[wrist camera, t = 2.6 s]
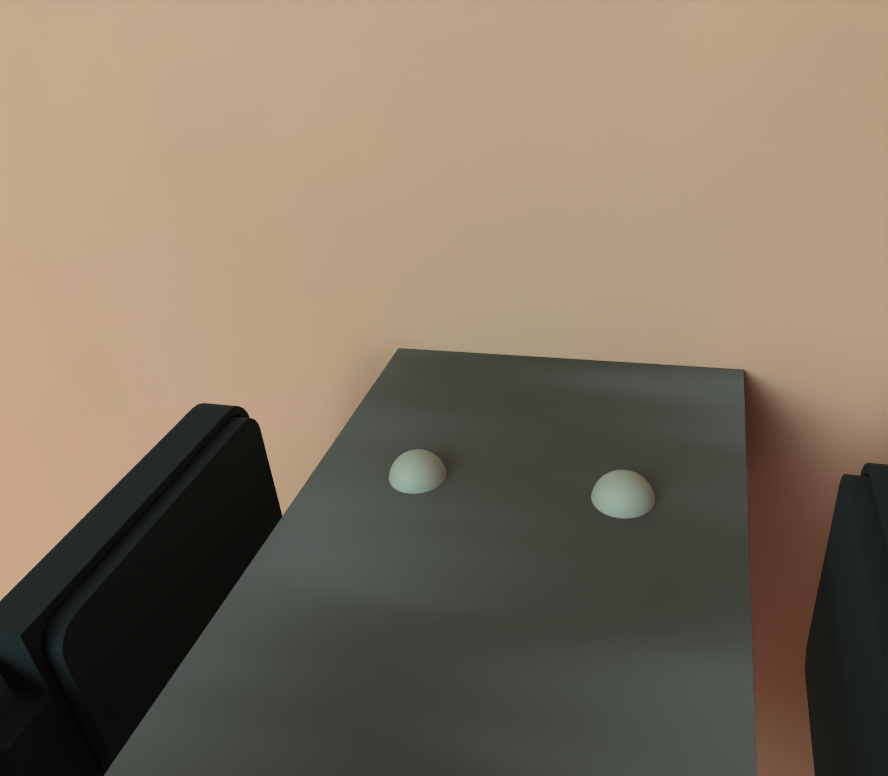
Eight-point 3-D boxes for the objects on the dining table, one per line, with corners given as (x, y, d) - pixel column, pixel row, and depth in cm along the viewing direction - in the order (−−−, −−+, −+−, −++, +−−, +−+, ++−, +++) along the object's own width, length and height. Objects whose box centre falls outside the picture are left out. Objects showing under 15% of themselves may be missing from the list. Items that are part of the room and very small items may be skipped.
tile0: (746, 350, 11) (800, 1777, 3) (731, 475, 12) (739, 1761, 4) (395, 330, 12) (-247, 1223, 4) (411, 443, 13) (-76, 1326, 5)
